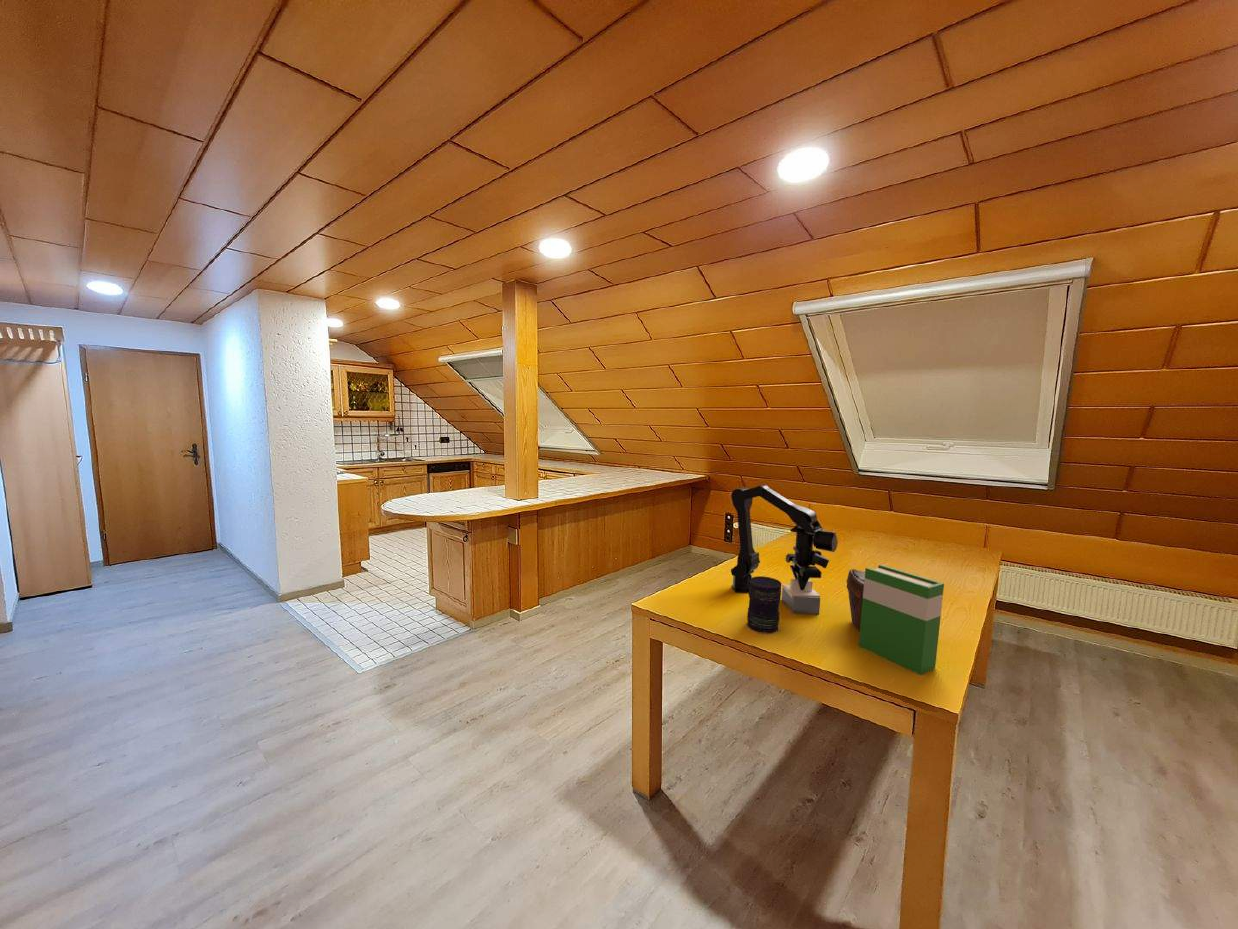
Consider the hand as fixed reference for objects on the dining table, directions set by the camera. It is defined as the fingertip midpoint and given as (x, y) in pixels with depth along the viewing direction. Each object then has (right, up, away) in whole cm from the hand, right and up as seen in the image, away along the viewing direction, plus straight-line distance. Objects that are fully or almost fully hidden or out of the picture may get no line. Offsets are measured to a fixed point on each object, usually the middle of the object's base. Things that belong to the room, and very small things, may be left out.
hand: (800, 588), depth 171 cm
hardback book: (+14, -11, -33) cm, 38 cm away
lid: (0, -2, 0) cm, 2 cm away
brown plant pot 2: (+19, -9, -14) cm, 25 cm away
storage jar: (-18, -8, -16) cm, 26 cm away
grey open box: (0, -7, +1) cm, 7 cm away
